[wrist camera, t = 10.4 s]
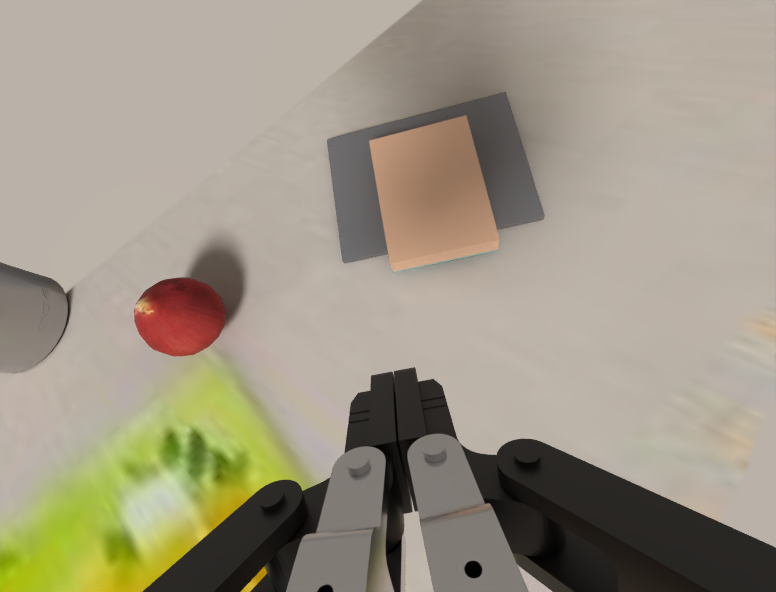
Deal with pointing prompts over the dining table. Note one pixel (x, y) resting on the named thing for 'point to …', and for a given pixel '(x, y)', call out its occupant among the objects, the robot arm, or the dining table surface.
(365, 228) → the mat
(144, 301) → the onion
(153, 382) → the dining table surface
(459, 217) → the tan flat block
